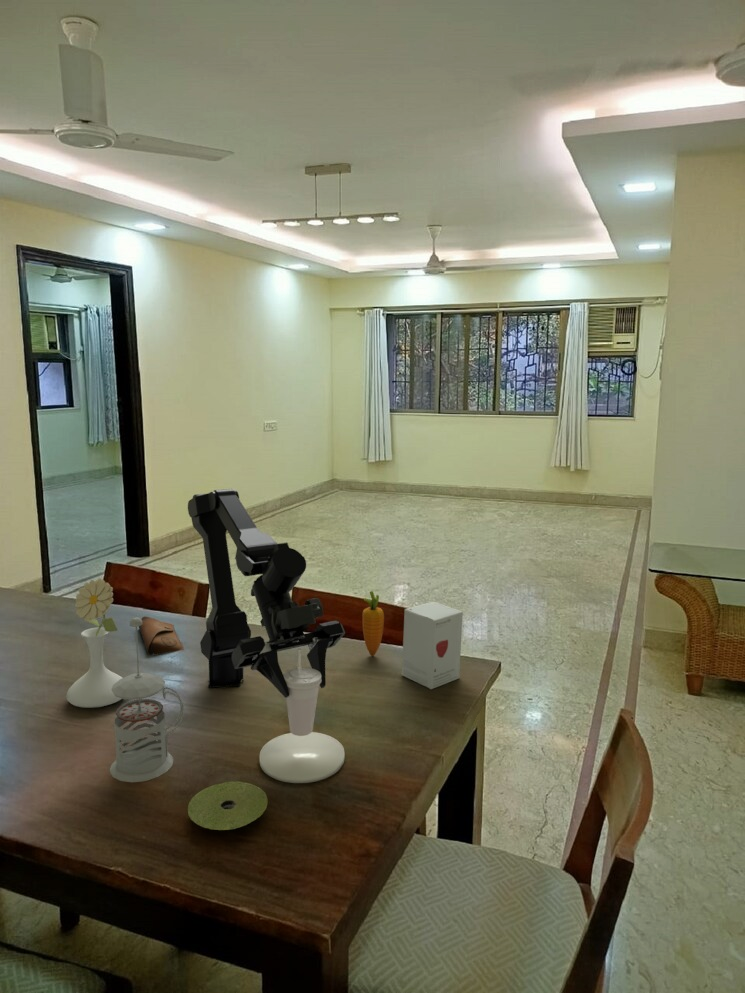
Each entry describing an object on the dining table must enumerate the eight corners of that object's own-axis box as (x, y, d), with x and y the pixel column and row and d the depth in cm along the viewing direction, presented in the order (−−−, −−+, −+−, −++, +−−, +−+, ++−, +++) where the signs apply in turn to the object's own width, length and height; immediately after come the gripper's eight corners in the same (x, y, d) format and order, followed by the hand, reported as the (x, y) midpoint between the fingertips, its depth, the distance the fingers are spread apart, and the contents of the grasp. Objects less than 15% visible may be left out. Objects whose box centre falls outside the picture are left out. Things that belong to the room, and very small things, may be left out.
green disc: (264, 840, 94) (264, 827, 94) (181, 843, 93) (180, 830, 93) (270, 791, 105) (270, 779, 105) (195, 793, 104) (194, 782, 104)
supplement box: (431, 690, 140) (433, 620, 137) (400, 676, 147) (402, 608, 144) (461, 678, 146) (464, 611, 143) (430, 664, 153) (432, 600, 150)
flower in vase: (56, 699, 133) (48, 574, 129) (112, 681, 141) (106, 563, 137) (87, 723, 124) (79, 590, 120) (145, 702, 133) (140, 577, 128)
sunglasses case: (186, 649, 158) (170, 628, 156) (160, 668, 156) (143, 647, 154) (173, 624, 174) (158, 604, 171) (148, 641, 172) (133, 621, 170)
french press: (108, 755, 114) (100, 611, 110) (180, 741, 119) (175, 603, 114) (111, 787, 105) (103, 632, 101) (188, 772, 110) (184, 622, 106)
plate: (258, 785, 107) (258, 779, 106) (260, 738, 120) (260, 733, 120) (348, 780, 108) (348, 774, 108) (340, 735, 122) (340, 729, 122)
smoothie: (293, 717, 118) (294, 639, 115) (327, 725, 115) (328, 646, 113) (274, 735, 112) (275, 653, 109) (310, 743, 110) (311, 660, 107)
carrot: (381, 661, 154) (382, 597, 151) (359, 659, 155) (360, 595, 152) (385, 653, 158) (386, 590, 156) (364, 650, 159) (365, 588, 157)
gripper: (237, 592, 107) (267, 686, 100) (340, 575, 118) (374, 659, 111) (219, 624, 115) (246, 713, 108) (317, 605, 125) (348, 686, 118)
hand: (305, 691), depth 111 cm, fingers closed on smoothie, 6 cm apart
